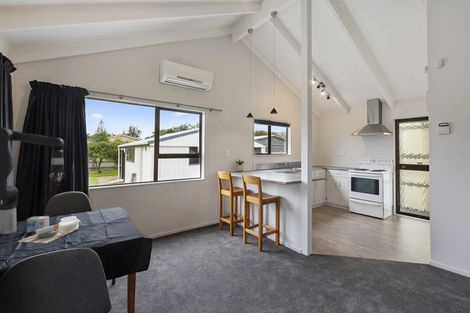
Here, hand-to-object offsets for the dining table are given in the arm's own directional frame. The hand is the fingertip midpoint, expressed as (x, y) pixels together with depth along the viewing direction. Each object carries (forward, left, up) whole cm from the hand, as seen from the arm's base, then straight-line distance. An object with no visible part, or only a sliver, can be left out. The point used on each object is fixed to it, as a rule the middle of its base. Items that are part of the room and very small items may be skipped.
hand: (57, 185), depth 173 cm
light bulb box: (-4, -12, -32) cm, 35 cm away
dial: (+12, -21, -30) cm, 39 cm away
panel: (+12, -21, -32) cm, 40 cm away
